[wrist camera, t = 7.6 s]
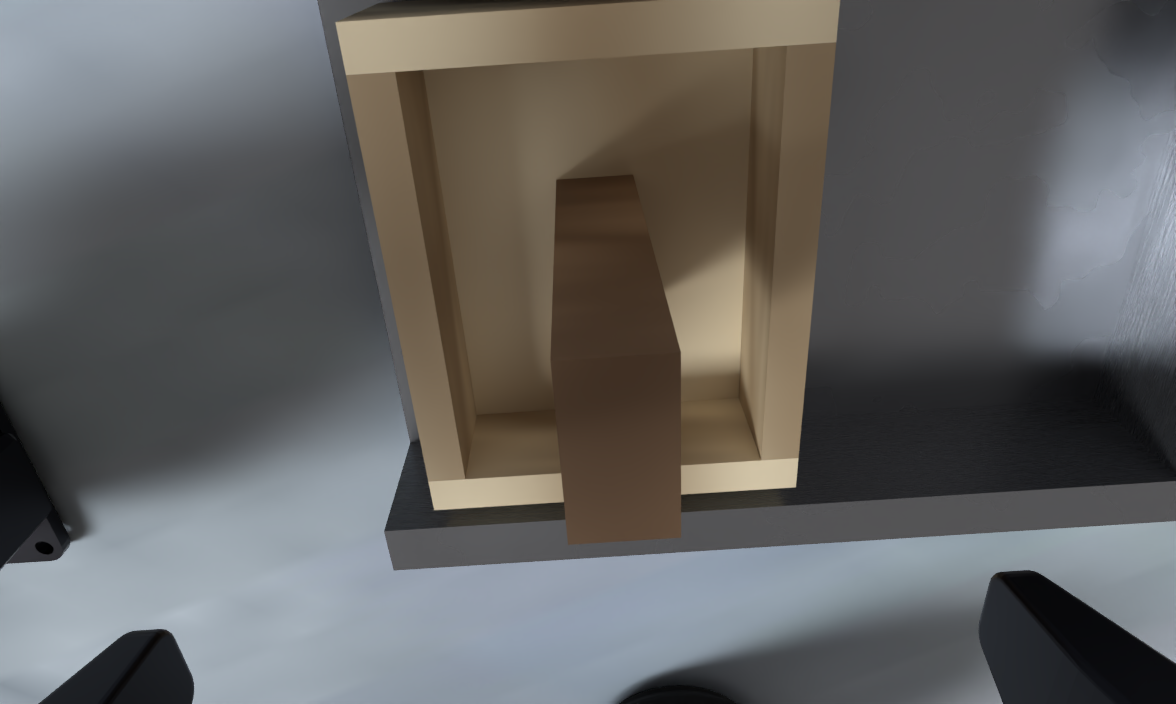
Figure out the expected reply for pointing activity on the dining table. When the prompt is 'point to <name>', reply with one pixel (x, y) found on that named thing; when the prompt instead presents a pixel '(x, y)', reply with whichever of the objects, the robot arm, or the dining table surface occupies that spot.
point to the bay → (937, 293)
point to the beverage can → (678, 696)
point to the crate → (598, 242)
